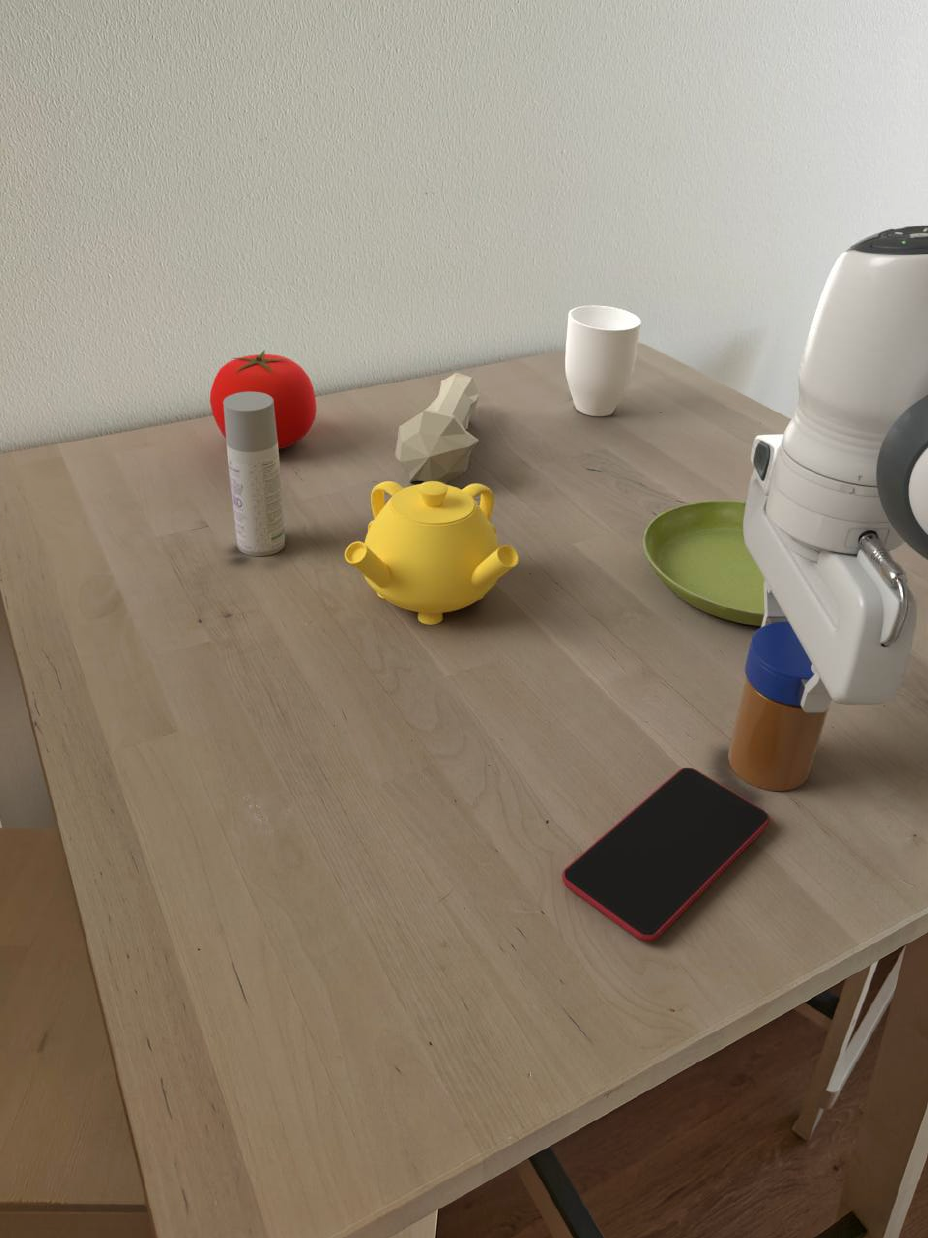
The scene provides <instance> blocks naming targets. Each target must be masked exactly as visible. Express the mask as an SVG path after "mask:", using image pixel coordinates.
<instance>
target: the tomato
mask: <svg viewBox="0 0 928 1238" xmlns="http://www.w3.org/2000/svg"><path fill="white" fill-rule="evenodd" d="M265 351H266V350H265V349H264V350H262V352H261V353H256V354H250V355H249V354H248V355H244V356H240V357H233V359H230V361H228V362H227V363H225V364H224V365H223V366H222V367H221V368H219V370H218V371H217V373H216V375H215V377H214V380H213V383H212V385H211V388H210V393H209V404H210V408H211V412H212V415H213V418H214V421H215V423H216V426H217V427H218V429H219V430H220V433H221V434H222V436H223V437H224V438H225V439H226V430H225V417H224V404H223V402H224V400H225V398H226V397H228V396H230V395H232V394H235V393H240V392H261V393H265V394H267V395H269V396H271V397H272V398H273V402H274V411H275V421H276V431H277V441H278V450H280V449H281V450H282V449H284V448H288V447H290V446H292V445H294V444H296V443H298V442H299V441H301V440H302V439H303V438H304V437H305V436H306V435H307V434H308V433H309V432H310V430H311V428H312V427H313V424H314V422H315V420H316V416H317V400H316V399H317V398H316V392H315V388H314V385H313V383H312V381H311V379H310V377H309V375H308V373H306V371H305V370H304V369H303V368H302V366H300V365H299V364H297V363H296V362H295V361H293V360H292V359H290V358H288V357H286V356H283V355H278V354H272V353H266V352H265Z"/></svg>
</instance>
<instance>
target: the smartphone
mask: <svg viewBox="0 0 928 1238" xmlns="http://www.w3.org/2000/svg"><path fill="white" fill-rule="evenodd" d="M769 824H770V816H769V813H767V811H766V810H764V809H762V808H761V807H760V806H758V805H756V804H754V803H753V802H751V801H749V800H748V799H746V798H745V797H743V796H741V795H739V794H738V793H736V792H734V791H733V790H731V789H729V788H728V787H726V786H724V785H722V784H721V783H719V782H718V781H716V780H714V779H712V778H710V777H709V776H707V775H705V774H704V773H702V772H700V771H699V770H698V769H695V768H693V767H682V768H680V769H678V770H677V771H676V772H675V773H674V774H673V775H672V776H670V777H669V778H668V779H667V780H666V781H664V783H662V784H661V785H660V786H659V787H658V788H657V789H655V790H654V791H653V792H652V793H651V794H649V796H647V797H646V798H645V799H644V800H642V801H641V803H639V804H638V805H637V806H635V808H634V809H632V810H631V811H630V812H629V813H628V814H626V816H624V817H623V818H621V820H620V821H618V822H617V823H616V824H615V825H614V826H613V827H611V828H610V829H609V830H608V831H607V832H606V833H604V834H603V835H601V837H600V838H599V839H597V841H595V842H594V843H593V844H592V845H591V846H589V847H588V848H587V849H586V850H585V851H584V852H582V853H581V854H580V855H579V856H578V857H577V858H575V859H574V860H573V861H572V862H571V863H570V864H568V866H567V867H565V868H564V869H563V871H562V874H561V880H562V883H563V885H564V886H565V887H566V888H568V890H570V891H571V892H573V893H574V894H575V895H577V896H578V897H580V898H581V899H582V900H584V901H585V902H586V903H588V904H589V905H590V906H592V907H593V908H594V909H596V910H597V911H598V912H600V913H601V914H603V915H604V916H606V917H607V918H608V919H609V920H611V921H612V922H614V923H615V924H616V925H618V926H619V927H621V928H622V929H623V930H625V931H626V932H627V933H629V934H630V935H631V936H632V937H634V938H636V939H637V940H638V941H641V942H644V943H650V942H653V941H655V940H657V939H658V938H659V937H660V936H661V935H662V934H663V933H664V932H665V931H666V930H667V929H668V928H669V927H670V926H671V925H672V924H673V923H674V922H675V920H677V918H679V917H680V915H682V913H683V912H684V911H686V909H687V908H688V907H690V905H691V904H693V902H694V901H695V900H696V899H697V898H698V897H699V896H700V895H701V894H702V893H703V892H704V891H705V890H706V889H707V888H708V887H709V886H710V885H711V884H712V883H713V882H714V881H715V880H716V879H717V878H718V877H719V876H720V875H721V874H722V873H723V872H724V871H725V870H726V869H727V868H728V867H729V866H730V865H731V864H732V863H733V862H734V861H735V860H736V859H737V858H738V857H739V856H740V855H741V854H742V853H743V852H744V851H745V850H746V849H747V847H748V846H749V845H751V843H752V842H753V841H754V840H756V838H757V837H758V836H759V835H760V834H761V833H762V832H763V831H764V830H765V829H766V828H767V827H768V826H769Z"/></svg>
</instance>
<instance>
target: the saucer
mask: <svg viewBox="0 0 928 1238" xmlns="http://www.w3.org/2000/svg"><path fill="white" fill-rule="evenodd" d="M745 507H746V501H736V500H735V501H733V500H708V501H698V502H690V503H687V504H686V503H685V504H682V505H678V506H675V507H672V508H669V509H667V510H665V511H663V512H661V513H660V514H658V515H657V516H656V517H654V518H653V519H652V520H651V521H650V522H649V523H648V525H647V526H646V528H645V530H644V532H643V538H642V544H643V550H644V553H645V555H646V557H647V560H648V562H649V564H650V566H651V567H652V569H653V571H654V573H656V575H657V576H658V578H659V579H660V580H661V581H662V583H664V585H666V586H667V588H668V589H670V591H672V592H673V593H674V594H675V595H677V597H679V598H680V599H681V600H683V601H685V602H686V603H688V604H689V605H691V606H692V607H694V608H696V609H699V610H701V611H702V612H705V613H707V614H709V615H712V616H714V617H718V618H720V619H723V620H726V621H731V622H734V623H738V624H744V625H750V626H756V627H761V625H762V622H763V618H764V614H765V611H764V585H763V584H764V580H765V579H764V577H763V575H762V574H761V572H760V570H759V568H758V566H757V565H756V563H755V561H754V559H753V558H752V556H751V554H750V552H749V550H748V549H747V547H746V545H745V542H744V534H743V519H744V513H745Z"/></svg>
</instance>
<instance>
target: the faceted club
mask: <svg viewBox="0 0 928 1238" xmlns="http://www.w3.org/2000/svg"><path fill="white" fill-rule="evenodd" d="M480 396H481V391H480V389H479V387H478V385H477V384H476V382H475V380H474V378H473V377H471V376H469V375H465V374H462V373H459V372H455V373H453V374H452V375H450V376H449V377H447V378H445V379H442V380H440V388H439V392H438V396H437V397H436V398H435V399H434V400H433V401H432V403H431V404H430V405H429V406H428V407H427V408H426V409H424V410H422V411H421V412H419V413H418V414H416V415H414V416H413V417H412V418H409V420H407V421H405V422H404V423H402V424H400V426H399V427H398V432H397V440H396V446H395V453H394V456H395V457H396V459H397V461H398V462H399V463H400V465H401V466H402V468H403V469H404V470H405V471H406V473H407V475H408V478H409V483H415V482H423V483H424V482H428V481H437V482H441V483H444V484H445V485H446V484H447V483H449V482H451V481H452V480H453V479H456V478H457V477H458V476H460V475H462V474H464V473H465V472H467V469H468V465H469V459H470V455H471V454H470V453H471V451H472V450H473V449H474V448H475V446H476V445H477V444H478V442H479V441H480V440H479V439H478V438H476V437H475V436H474V435H472V434H471V433H470V432H469V431H467V430H468V429H469V421H470V416H471V415H472V414H473V412H475V410H476V407H477V404H478V401H479V398H480Z"/></svg>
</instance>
